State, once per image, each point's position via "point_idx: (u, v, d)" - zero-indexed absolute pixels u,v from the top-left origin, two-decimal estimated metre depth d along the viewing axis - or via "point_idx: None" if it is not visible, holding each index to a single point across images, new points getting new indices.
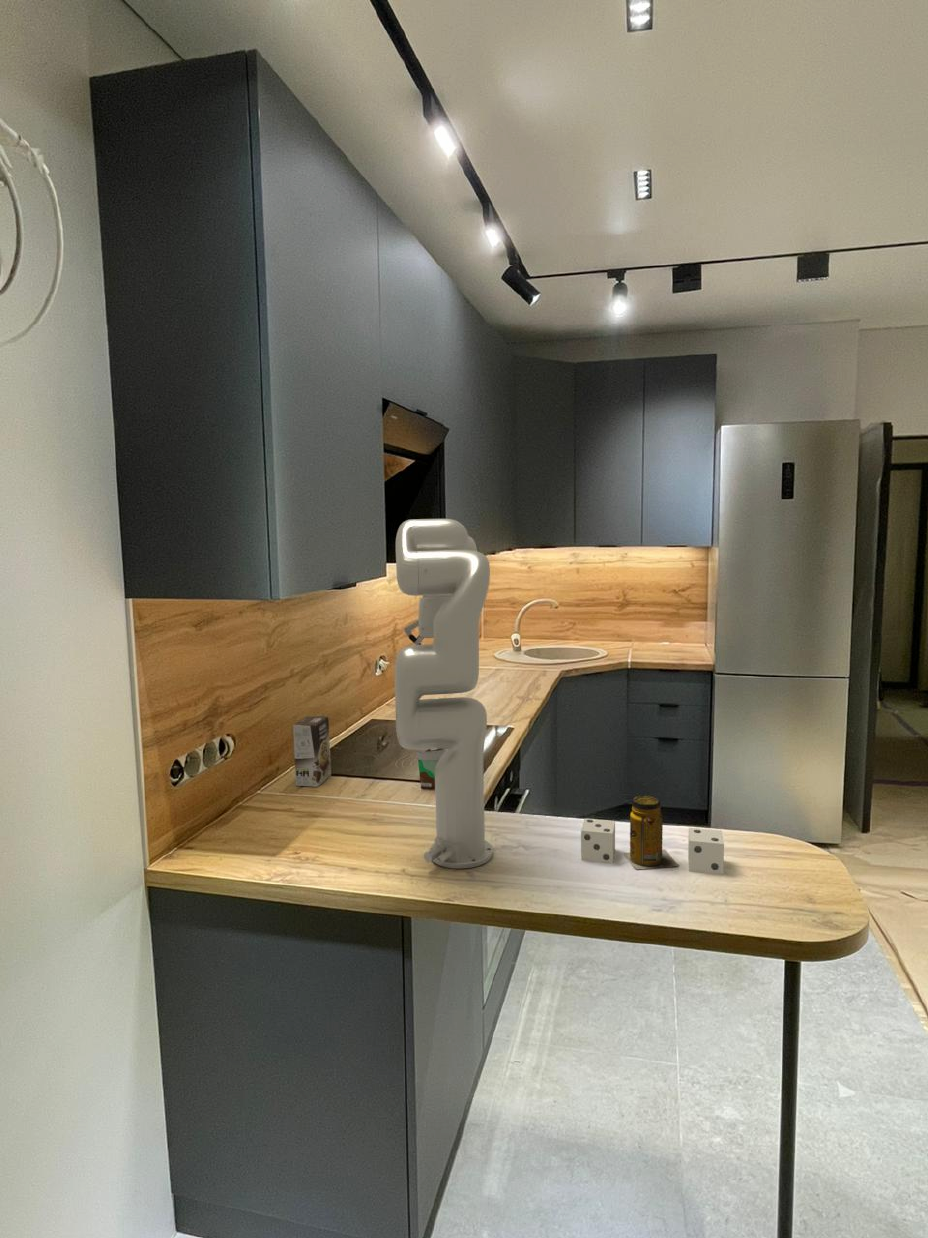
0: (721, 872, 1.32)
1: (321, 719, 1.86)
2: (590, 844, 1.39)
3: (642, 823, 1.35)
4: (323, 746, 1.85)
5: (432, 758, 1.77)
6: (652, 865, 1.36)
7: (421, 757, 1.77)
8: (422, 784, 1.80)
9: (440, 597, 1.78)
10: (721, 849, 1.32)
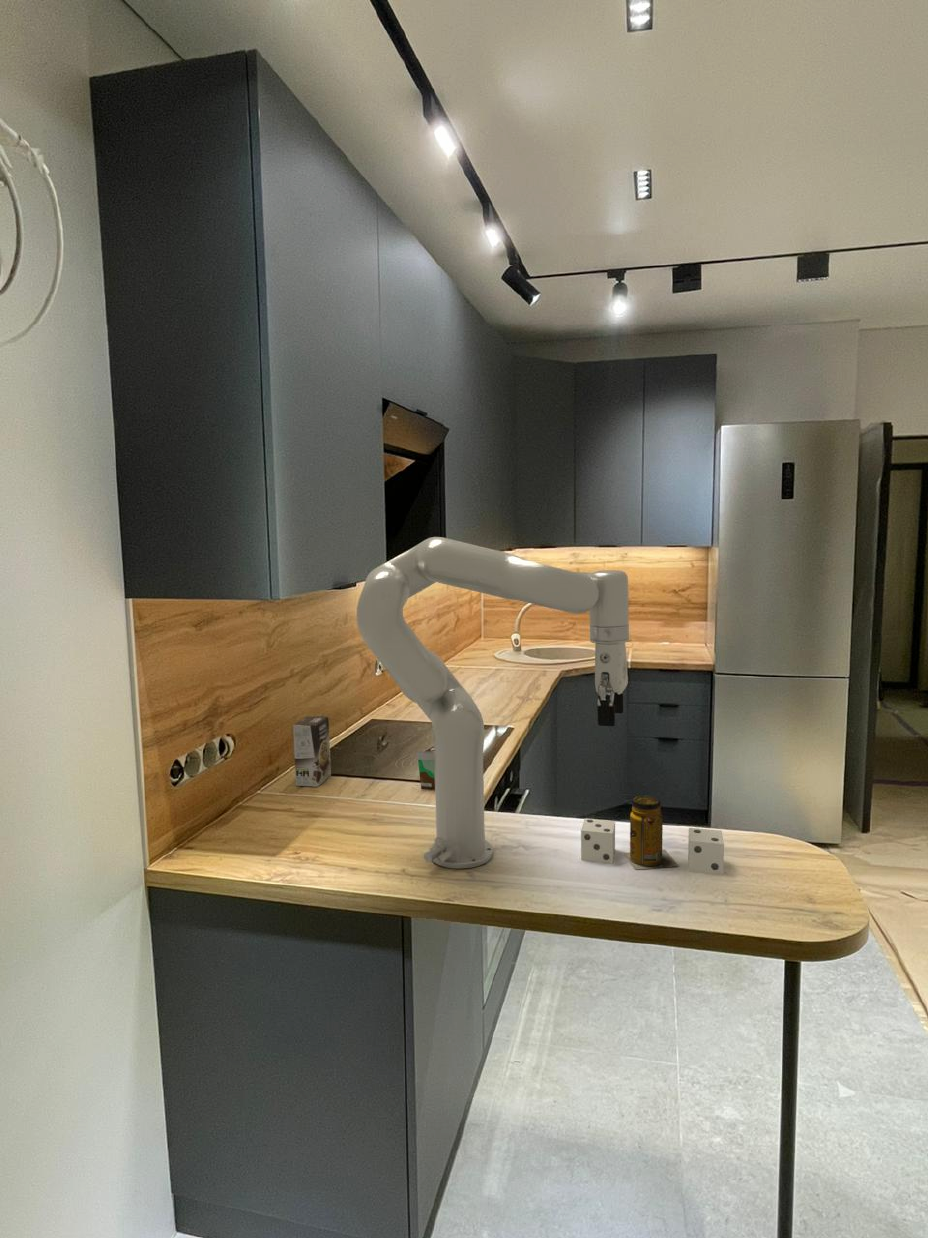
0: (721, 872, 1.32)
1: (321, 719, 1.86)
2: (590, 844, 1.39)
3: (642, 823, 1.35)
4: (323, 746, 1.85)
5: (432, 758, 1.77)
6: (652, 865, 1.36)
7: (421, 757, 1.77)
8: (422, 784, 1.80)
9: (628, 638, 1.40)
10: (721, 849, 1.32)
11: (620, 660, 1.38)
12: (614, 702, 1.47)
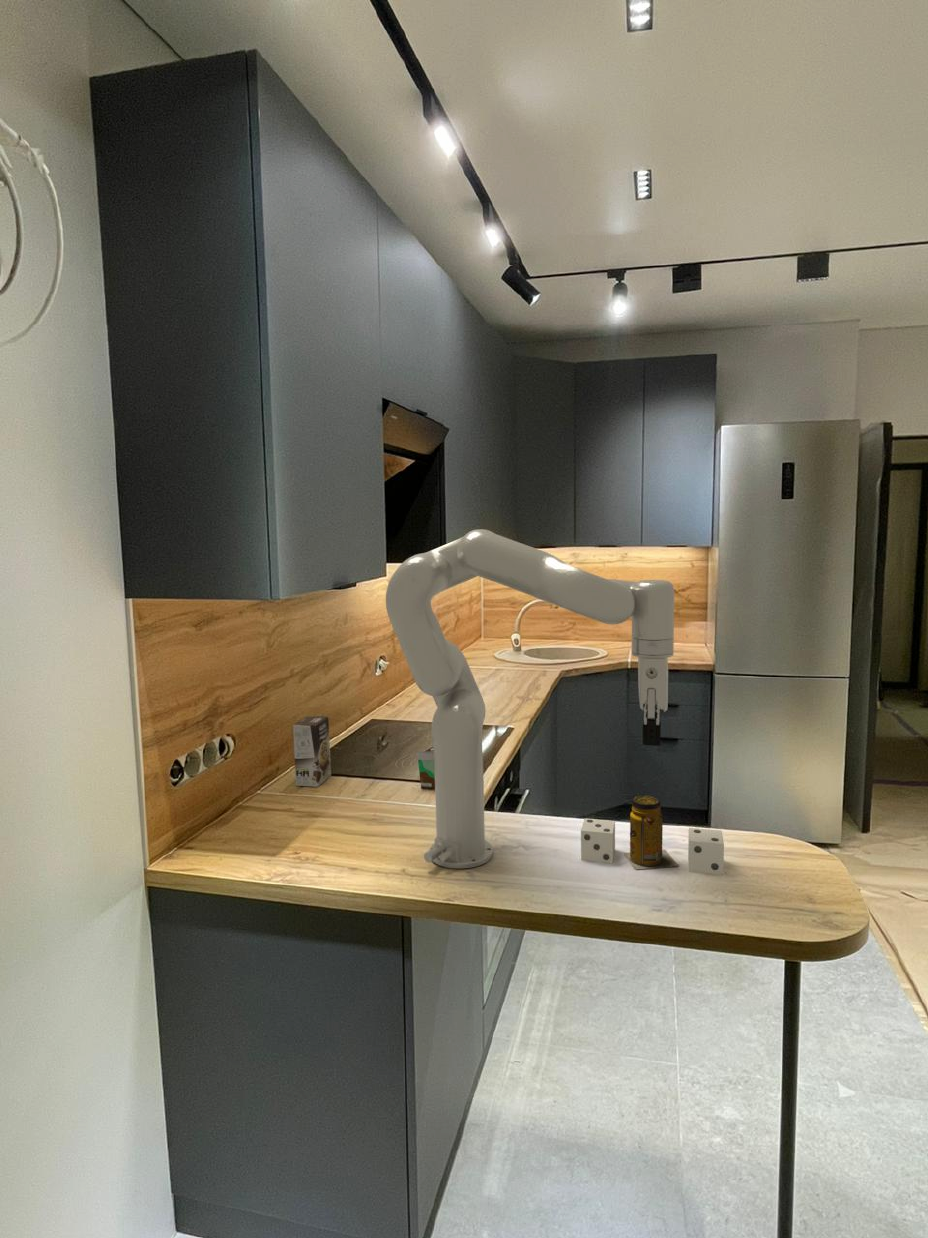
0: (721, 872, 1.32)
1: (321, 719, 1.86)
2: (590, 844, 1.39)
3: (642, 823, 1.35)
4: (323, 746, 1.85)
5: (432, 758, 1.77)
6: (652, 865, 1.36)
7: (421, 757, 1.77)
8: (422, 784, 1.80)
9: None
10: (721, 849, 1.32)
11: (666, 675, 1.30)
12: None
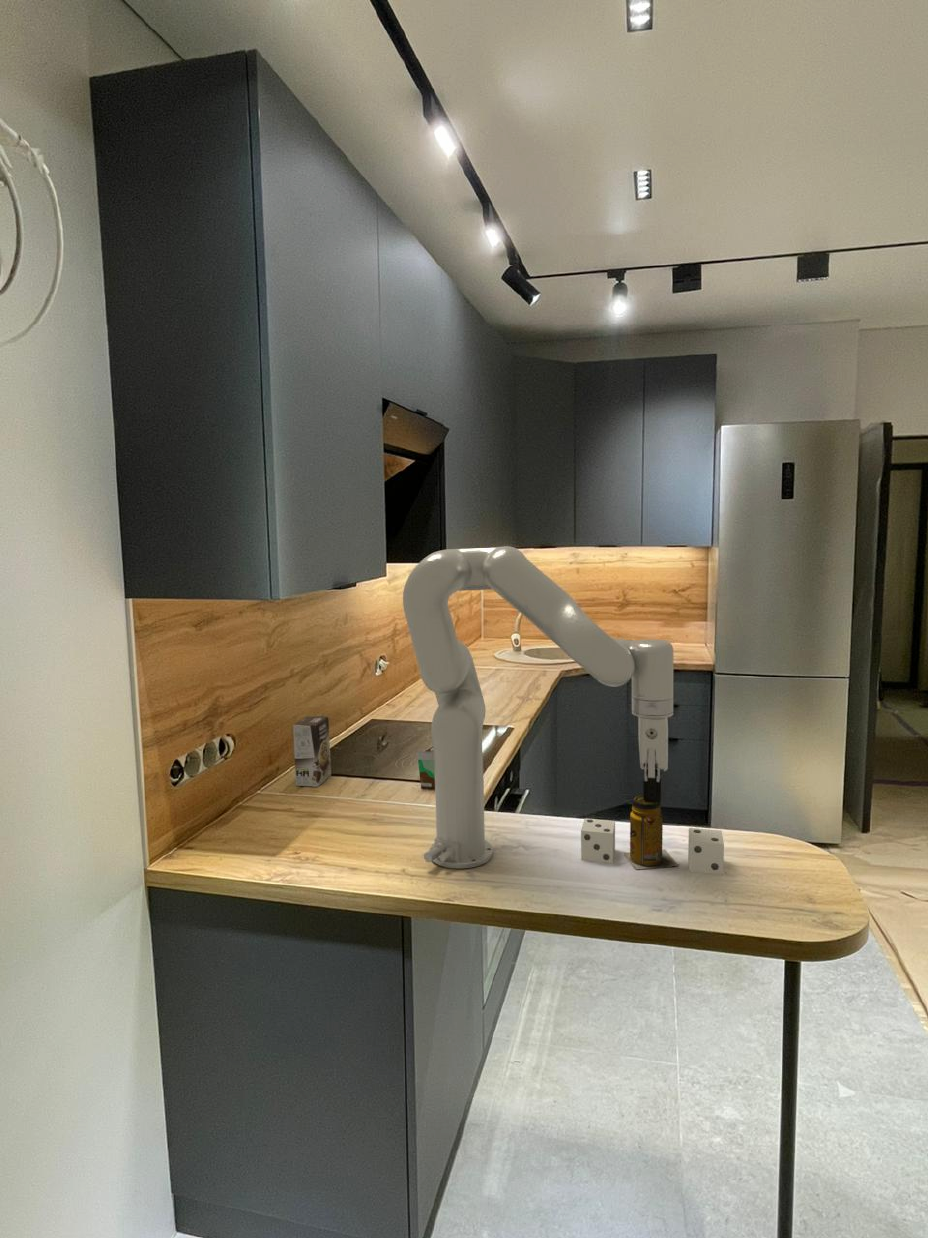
0: (721, 872, 1.32)
1: (321, 719, 1.86)
2: (590, 844, 1.39)
3: (642, 822, 1.35)
4: (323, 746, 1.85)
5: (432, 758, 1.77)
6: (652, 864, 1.36)
7: (421, 757, 1.77)
8: (422, 784, 1.80)
9: None
10: (721, 849, 1.32)
11: (666, 735, 1.31)
12: None
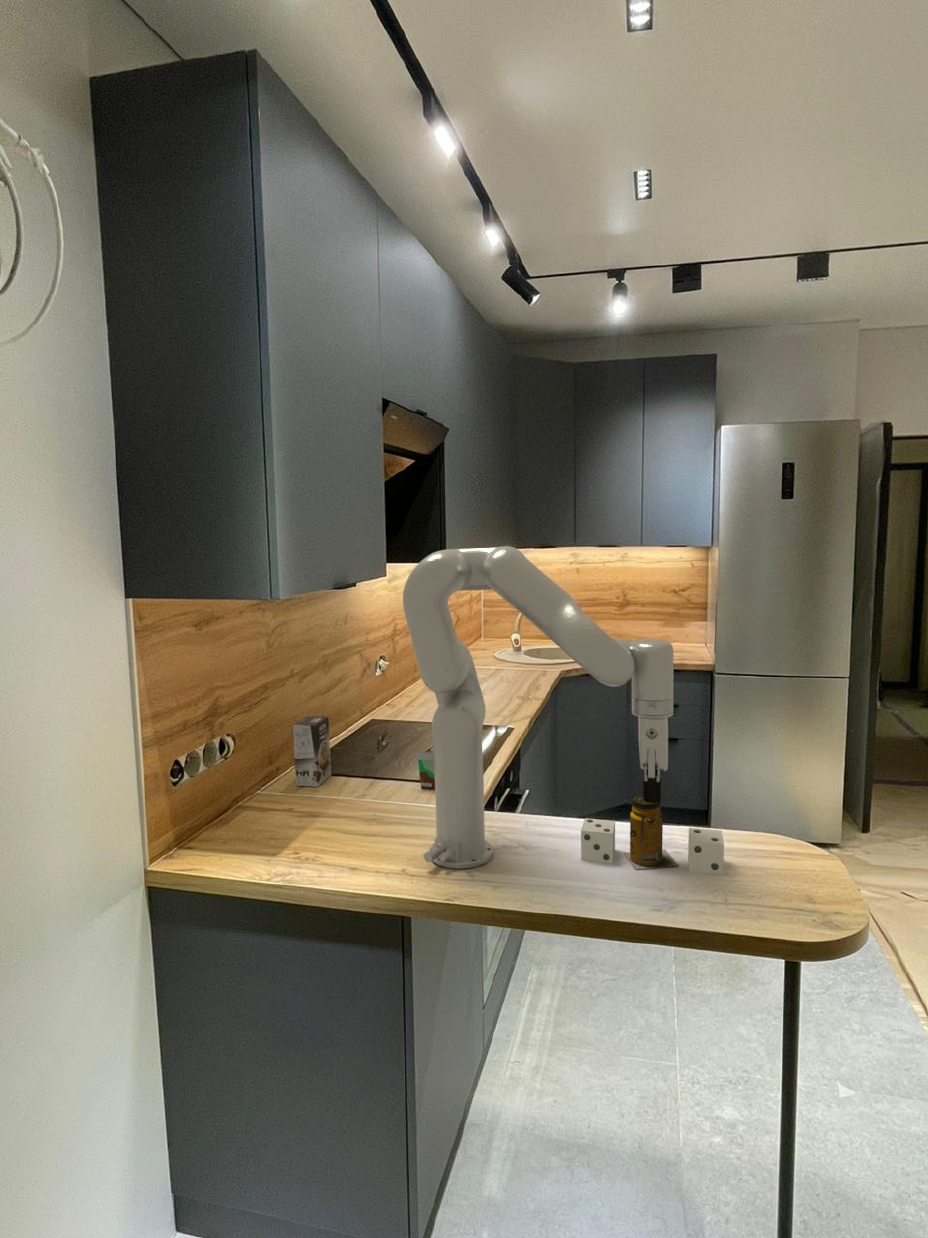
0: (721, 872, 1.32)
1: (321, 719, 1.86)
2: (590, 844, 1.39)
3: (642, 822, 1.35)
4: (323, 746, 1.85)
5: (432, 758, 1.77)
6: (652, 864, 1.36)
7: (421, 757, 1.77)
8: (422, 784, 1.80)
9: None
10: (721, 849, 1.32)
11: (666, 735, 1.31)
12: None
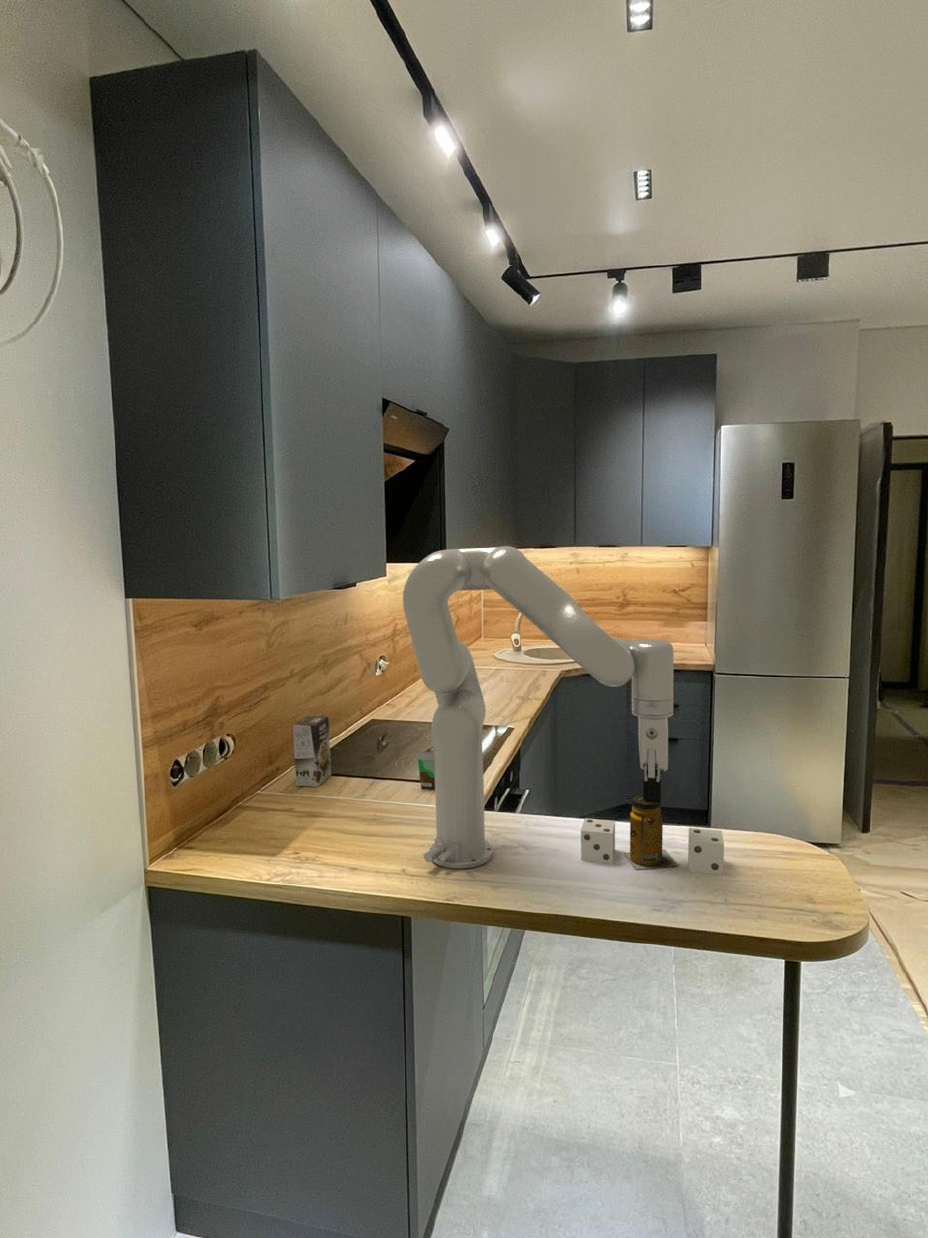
0: (721, 872, 1.32)
1: (321, 719, 1.86)
2: (590, 844, 1.39)
3: (642, 822, 1.35)
4: (323, 746, 1.85)
5: (432, 758, 1.77)
6: (652, 864, 1.36)
7: (421, 757, 1.77)
8: (422, 784, 1.80)
9: None
10: (721, 849, 1.32)
11: (666, 735, 1.31)
12: None
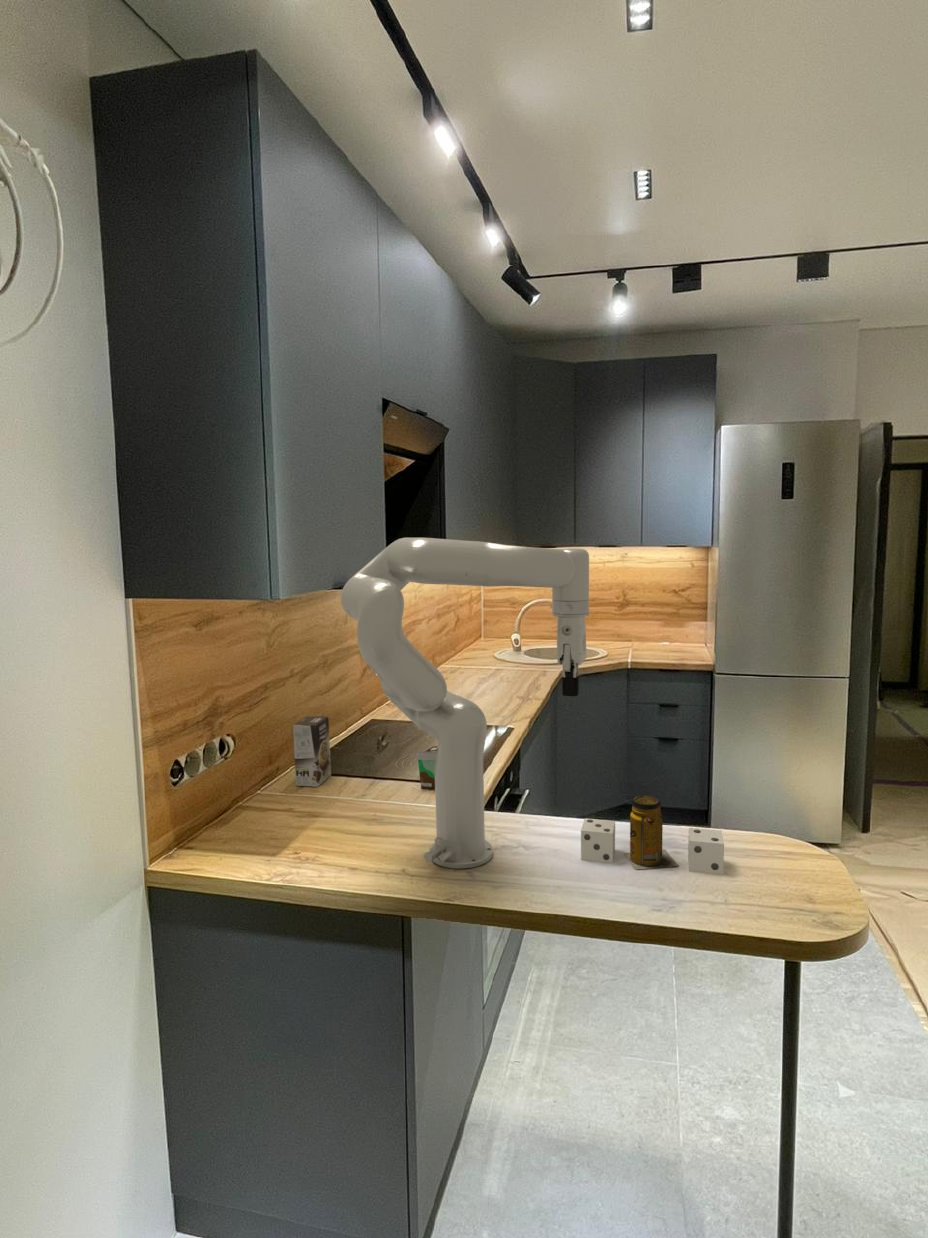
0: (721, 872, 1.32)
1: (321, 719, 1.86)
2: (590, 844, 1.39)
3: (642, 823, 1.35)
4: (323, 746, 1.85)
5: (432, 758, 1.77)
6: (652, 865, 1.36)
7: (421, 757, 1.77)
8: (422, 784, 1.80)
9: (588, 613, 1.49)
10: (721, 849, 1.32)
11: (581, 633, 1.46)
12: None
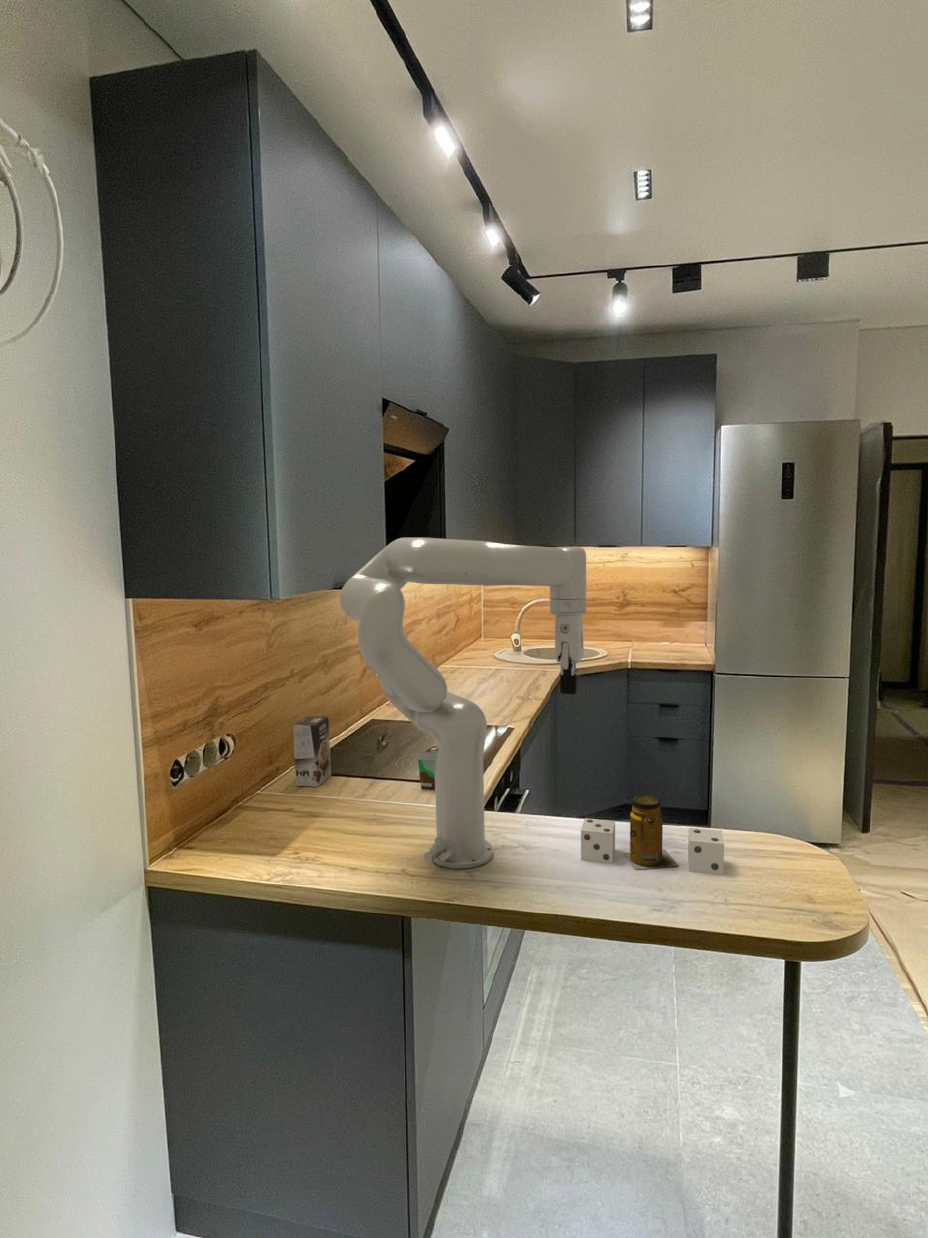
0: (721, 872, 1.32)
1: (321, 719, 1.86)
2: (590, 844, 1.39)
3: (642, 823, 1.35)
4: (323, 746, 1.85)
5: (432, 758, 1.77)
6: (652, 865, 1.36)
7: (421, 757, 1.77)
8: (422, 784, 1.80)
9: None
10: (721, 849, 1.32)
11: (578, 630, 1.47)
12: None
